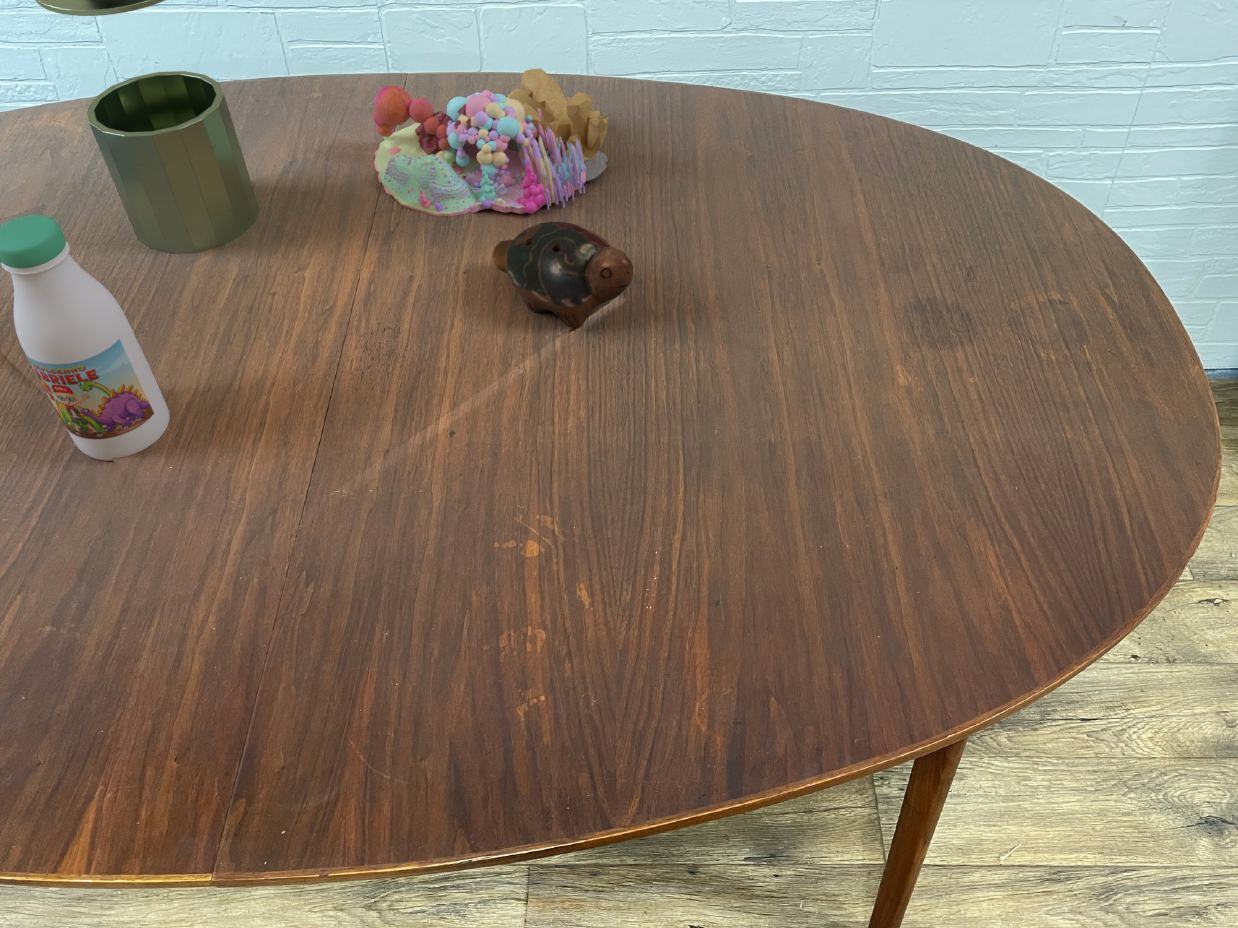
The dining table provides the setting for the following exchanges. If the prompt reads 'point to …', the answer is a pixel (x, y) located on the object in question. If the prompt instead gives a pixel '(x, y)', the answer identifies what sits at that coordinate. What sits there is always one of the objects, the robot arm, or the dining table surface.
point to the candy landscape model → (489, 148)
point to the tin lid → (95, 6)
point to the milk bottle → (80, 344)
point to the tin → (175, 160)
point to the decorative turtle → (564, 269)
